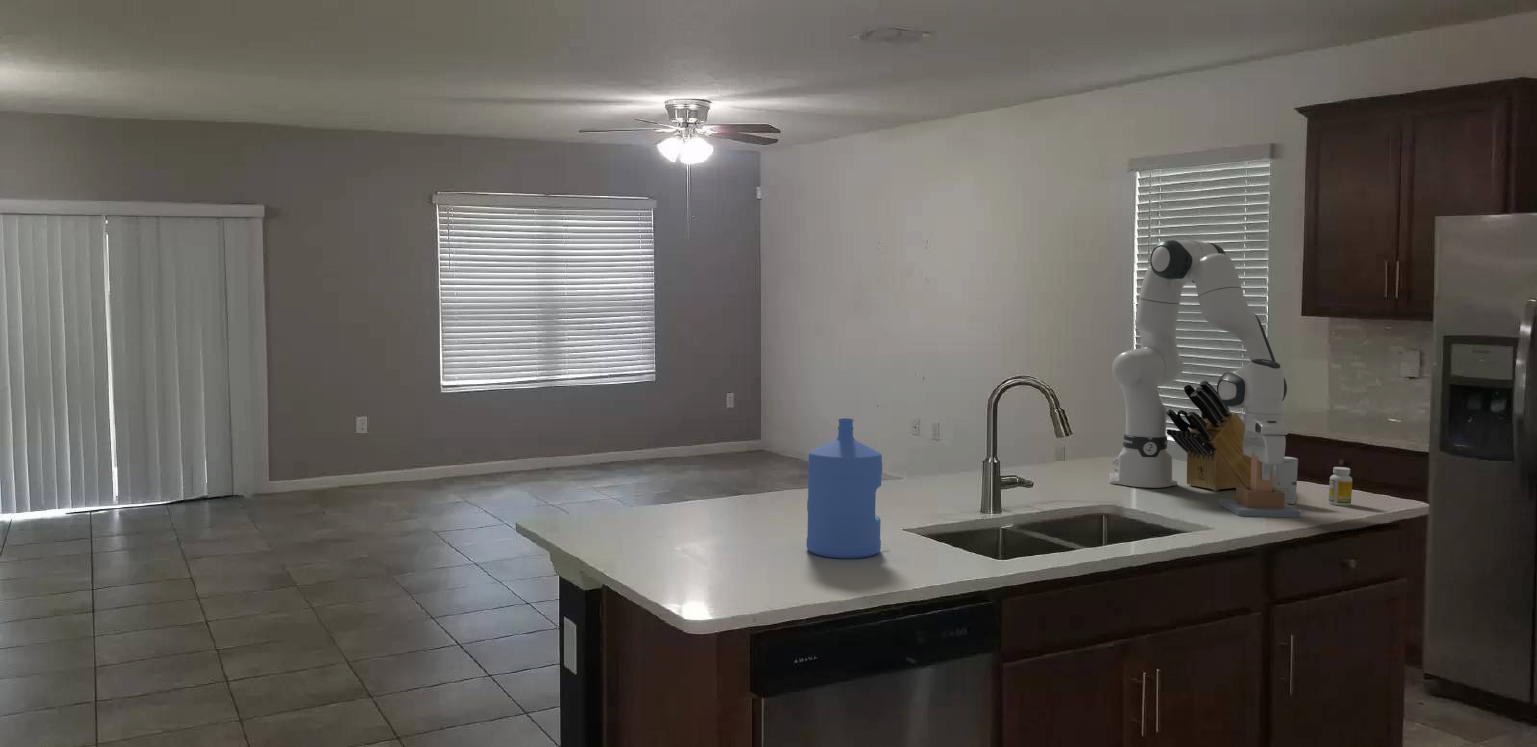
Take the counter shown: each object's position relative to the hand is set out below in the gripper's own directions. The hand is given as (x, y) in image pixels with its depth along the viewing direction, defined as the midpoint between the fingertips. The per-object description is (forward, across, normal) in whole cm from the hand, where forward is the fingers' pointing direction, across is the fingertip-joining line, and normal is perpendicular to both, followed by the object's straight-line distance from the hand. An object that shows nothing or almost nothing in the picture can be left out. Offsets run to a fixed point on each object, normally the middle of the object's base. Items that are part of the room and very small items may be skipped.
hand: (1261, 478), depth 300 cm
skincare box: (+9, -13, +10) cm, 19 cm away
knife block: (+8, -36, +1) cm, 37 cm away
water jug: (+8, +59, -105) cm, 121 cm away
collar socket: (+8, 0, 0) cm, 8 cm away
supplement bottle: (+9, -13, +25) cm, 29 cm away
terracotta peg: (+4, 0, 0) cm, 4 cm away
